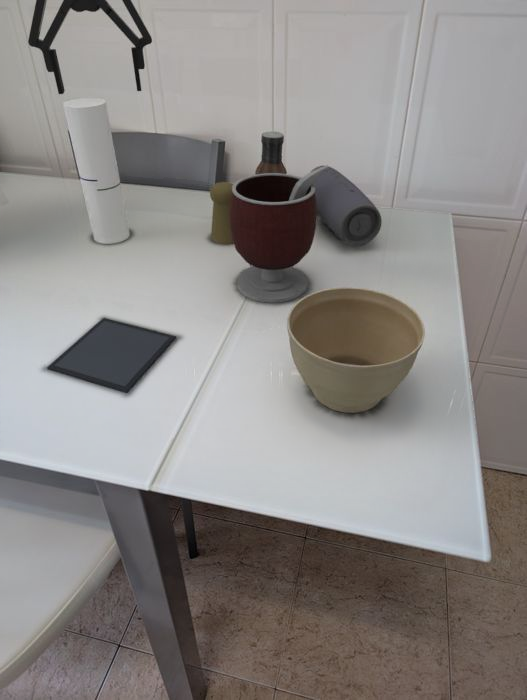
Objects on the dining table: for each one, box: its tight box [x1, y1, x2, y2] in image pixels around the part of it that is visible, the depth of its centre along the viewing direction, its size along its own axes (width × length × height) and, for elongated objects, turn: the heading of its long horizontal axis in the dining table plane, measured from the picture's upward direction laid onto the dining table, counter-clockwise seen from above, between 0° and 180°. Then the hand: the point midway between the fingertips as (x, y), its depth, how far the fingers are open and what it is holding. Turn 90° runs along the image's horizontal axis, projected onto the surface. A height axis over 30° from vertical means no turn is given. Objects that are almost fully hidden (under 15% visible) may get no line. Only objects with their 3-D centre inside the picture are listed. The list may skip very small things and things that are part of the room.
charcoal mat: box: [46, 317, 177, 394], centre depth 71 cm, size 13×13×1 cm
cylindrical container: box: [62, 97, 130, 245], centre depth 94 cm, size 7×7×25 cm
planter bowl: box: [286, 286, 426, 414], centre depth 62 cm, size 16×16×11 cm
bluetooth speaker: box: [310, 165, 383, 247], centre depth 102 cm, size 23×9×10 cm, turn 14°
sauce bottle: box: [254, 130, 288, 175], centre depth 95 cm, size 6×6×20 cm
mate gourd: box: [230, 164, 330, 304], centre depth 81 cm, size 16×14×20 cm
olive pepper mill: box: [209, 181, 234, 245], centre depth 98 cm, size 6×6×11 cm
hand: (101, 91), depth 90 cm, fingers open, 13 cm apart
